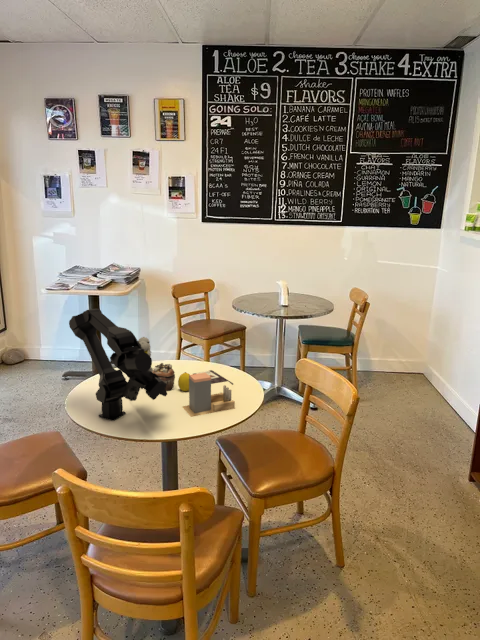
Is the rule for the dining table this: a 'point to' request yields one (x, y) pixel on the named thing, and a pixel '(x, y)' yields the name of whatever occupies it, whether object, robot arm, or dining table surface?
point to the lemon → (184, 382)
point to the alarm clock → (145, 346)
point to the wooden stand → (216, 403)
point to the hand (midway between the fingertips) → (166, 395)
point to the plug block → (200, 392)
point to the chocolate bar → (215, 377)
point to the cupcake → (165, 375)
